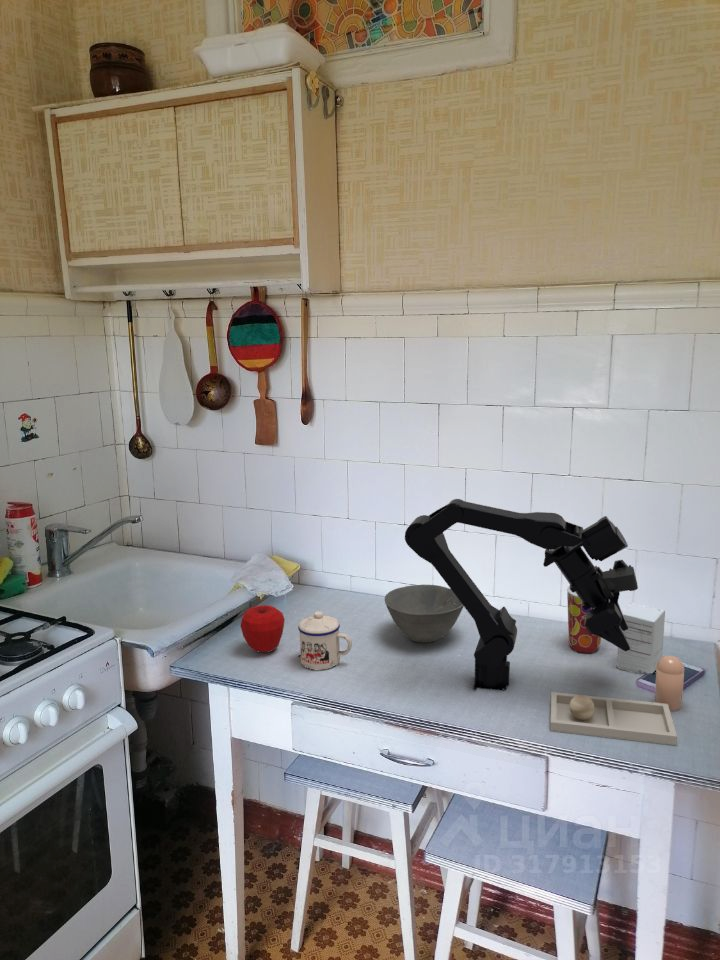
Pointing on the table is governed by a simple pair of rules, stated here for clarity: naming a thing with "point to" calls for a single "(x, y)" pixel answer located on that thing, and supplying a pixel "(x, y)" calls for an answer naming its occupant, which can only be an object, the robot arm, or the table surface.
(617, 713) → the pulp tray
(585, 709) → the beige lumpy ball
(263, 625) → the apple
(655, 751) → the table surface
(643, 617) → the supplement box
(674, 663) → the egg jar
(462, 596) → the robot arm
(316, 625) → the teacup with lid
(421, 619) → the bowl
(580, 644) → the smoothie
